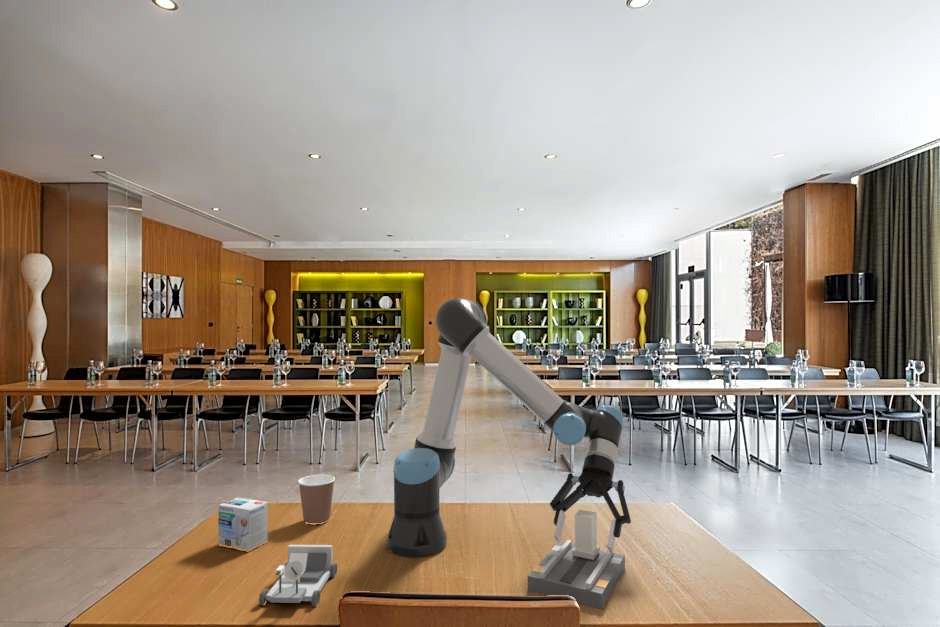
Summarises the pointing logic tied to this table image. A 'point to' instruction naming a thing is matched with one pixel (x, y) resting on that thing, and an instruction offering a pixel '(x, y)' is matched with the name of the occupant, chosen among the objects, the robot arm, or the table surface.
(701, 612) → the table surface
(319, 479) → the coffee cup
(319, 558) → the toy car
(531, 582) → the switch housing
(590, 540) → the switch slider
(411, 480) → the robot arm
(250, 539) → the light bulb box
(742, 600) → the table surface
